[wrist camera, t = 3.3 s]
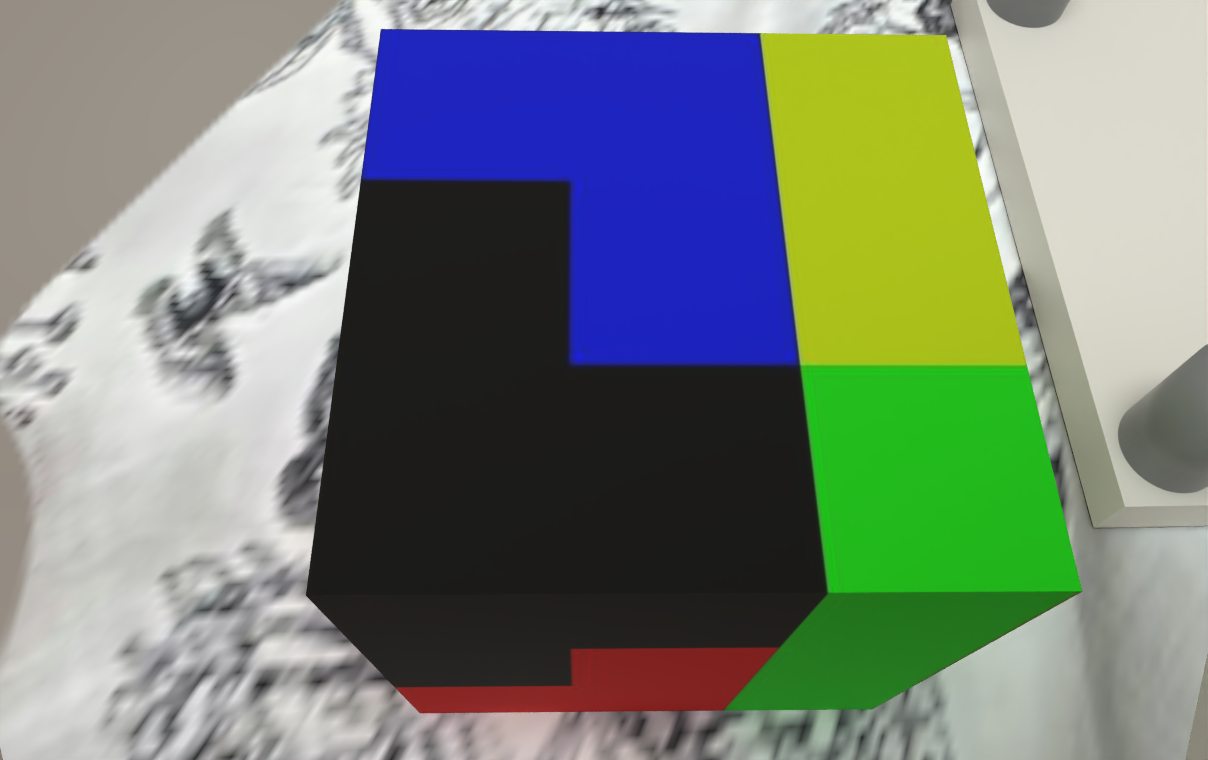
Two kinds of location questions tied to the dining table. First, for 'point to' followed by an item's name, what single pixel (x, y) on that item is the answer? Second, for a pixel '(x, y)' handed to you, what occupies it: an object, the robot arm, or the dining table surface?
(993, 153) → the stub base
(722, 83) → the puzzle toy
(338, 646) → the dining table surface
